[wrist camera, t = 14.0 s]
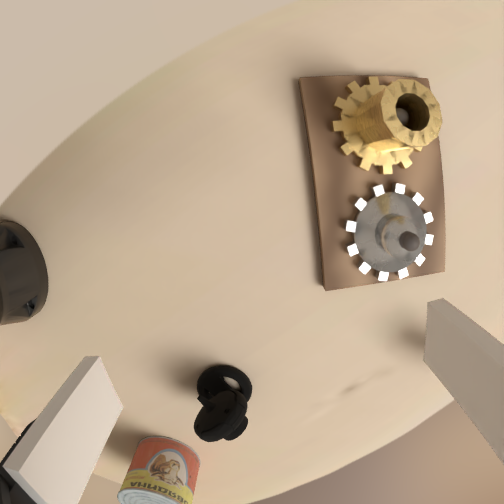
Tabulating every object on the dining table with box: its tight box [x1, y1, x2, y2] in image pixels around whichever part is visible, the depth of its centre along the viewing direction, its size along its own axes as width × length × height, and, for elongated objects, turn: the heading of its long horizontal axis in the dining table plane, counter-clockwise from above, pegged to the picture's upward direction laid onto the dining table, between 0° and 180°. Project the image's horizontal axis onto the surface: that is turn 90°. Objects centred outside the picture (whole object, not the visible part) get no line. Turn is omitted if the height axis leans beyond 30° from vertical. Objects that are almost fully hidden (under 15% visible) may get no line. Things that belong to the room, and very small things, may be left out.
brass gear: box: [330, 77, 442, 174], centre depth 27 cm, size 11×11×9 cm
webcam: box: [194, 366, 252, 442], centre depth 36 cm, size 8×8×10 cm
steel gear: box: [343, 183, 433, 281], centre depth 32 cm, size 11×11×5 cm
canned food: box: [117, 436, 200, 504], centre depth 40 cm, size 11×11×12 cm
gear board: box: [299, 76, 445, 291], centre depth 30 cm, size 16×24×8 cm, turn 8°
